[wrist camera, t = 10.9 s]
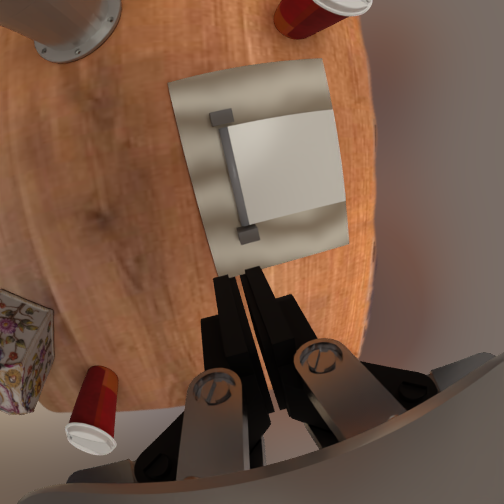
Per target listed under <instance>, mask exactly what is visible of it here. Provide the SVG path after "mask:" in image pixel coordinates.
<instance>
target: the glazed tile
mask: <svg viewBox="0 0 504 504" xmlns="http://www.w3.org/2000/svg"><path fill="white" fill-rule="evenodd" d="M218 130H219V134H220V138H221V143H222V147H223V151H224V156H225V160H226V164H227V168H228V173H229V177H230V181H231V185H232V190H233V194H234V198H235V203H236V207H237V211H238V215H239V220H240V224H241V226H248V225H251V224H255V223H259V222H262V221H266V220H270V219H274V218H278V217H282V216H286V215H290V214H294V213H298V212H302V211H306V210H310V209H314V208H318V207H322V206H326V205H330V204H335V203H339V202H343V201H346V198H345V188H344V180H343V171H342V164H341V156H340V149H339V143H338V136H337V130H336V124H335V118H334V112H333V109H331V110H322V111H314V112H306V113H299V114H292V115H286V116H280V117H274V118H268V119H263V120H257V121H252V122H247V123H242V124H238V125H233V126H228V127H224V128H220V129H218Z"/></svg>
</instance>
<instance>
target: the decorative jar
mask: <svg viewBox="0 0 504 504" xmlns="http://www.w3.org/2000/svg"><path fill="white" fill-rule="evenodd" d="M53 361H54V337H53V310H51V309H48V308H46V307H43V306H40V305H38V304H35V303H33V302H31V301H28V300H26V299H23V298H21V297H19V296H16V295H14V294H11V293H9V292H7V291H4V290H2V289H1V290H0V411H2V412H4V413H6V414H9V415H14V414H15V415H16V414H19V415H24V414H27V413H31V412H34V409H35V407H36V404H37V402H38V399H39V397H40V394H41V391H42V388H43V386H44V383H45V381H46V379H47V376H48V374H49V371H50V369H51V366H52V363H53Z"/></svg>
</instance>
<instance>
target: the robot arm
mask: <svg viewBox="0 0 504 504" xmlns="http://www.w3.org/2000/svg"><path fill="white" fill-rule="evenodd" d="M121 10H122V2H121V0H0V25H1V26H3V27H6V28H8V29H10V30H13V31H15V32H17V33H19V34H22V35H24V36H26V37H28V38H30V39H32V40H34V44H35V48H36V50H37V52H38V53H39V54H40V56H41V57H43V58H44V59H46V60H48V61H51V62H55V63H68V62H72V61H76V60H78V59H80V58H83V57H85V56H86V55H88V54H90V53H91V52H93V51H94V50H95V49H97V48H98V47H99V46H100V45H101V44H102V43H103V42H104V41H105V40H106V39H107V38H108V37H109V36H110V34H111V33H112V32H113V30H114V29H115V27H116V25H117V23H118V21H119V18H120V15H121ZM111 21H113V22H111ZM79 52H80V54H79ZM240 278H241V282H242V286H243V290H244V293H245V297H246V301H247V305H248V308H249V312H250V316H251V320H252V323H253V327H254V331H255V334H256V338H257V341H258V344H259V347H260V350H261V354H262V357H263V360H264V363H265V366H266V369H267V372H268V375H269V378H270V381H271V384H272V387H273V390H274V393H275V397H276V400H277V403H278V405H279V408H280V410H282V409H287V412H288V415H289V417H291V418H292V419H295V420H298V421H301V422H304V425H305V427H306V429H307V431H308V432H309V434H310V435H311V437H312V439H313V440H314V442H315V443H316V445H317V446H318V448H319V450H317V451H314V452H311V453H308V454H305V455H302V456H299V457H296V458H292V459H289V460H285V461H282V462H278V463H274V464H270V465H266V455H265V442H264V437H263V434H264V433H265V432H266V430H267V429H268V428H269V426H270V425H271V423H270V422H271V421H270V418H269V413H272V412H275V411H274V408H273V404H272V401H271V397H270V394H269V391H268V387H267V384H266V380H265V377H264V374H263V370H262V367H261V363H260V360H259V356H258V353H257V349H256V346H255V343H254V339H253V336H252V333H251V329H250V326H249V323H248V319H247V316H246V313H245V309H244V306H243V302H242V299H241V296H240V292H239V289H238V285H237V282H236V278H235V277H231V278H229V276H228V274H227V275H223V276H220V277H216V278H213V282H214V288H215V295H216V302H217V308H218V315H215V316H211V317H207V318H203V319H201V333H202V346H203V357H204V369H205V371H204V372H202V373H200V374H199V375H198V376H196V377H195V378H194V379H193V380H192V382H191V383H190V384H189V387H188V390H187V396H186V403H185V410H184V412H183V413H182V414H181V415H180V416H179V417H178V418H177V419H176V420H175V421H174V422H173V423H172V424H171V425H170V426H169V427H168V428H167V429H166V430H165V431H164V432H163V433H162V434H161V435H160V436H159V437H158V438H157V439H156V440H155V441H154V442H153V443H152V444H151V445H150V446H149V447H147V449H145V450H144V451H143V452H142V453H141V455H140V456H139V457H138V459H137V460H135V461H131V460H130V459H127V460H123V461H119V462H115V463H111V464H106V465H102V466H97V467H93V468H88V469H83V470H79V471H76V472H74V473H73V474H72V475H70V476H69V478H68V480H67V482H66V484H57V485H52V486H47V487H44V488H40V489H37V490H34V491H32V492H30V493H28V494H26V495H24V496H23V497H22V498H21V499H20V500H19V501H18V503H17V504H504V352H503V353H501V354H500V355H498V356H495V355H493V354H491V353H486V352H483V353H478V354H475V355H473V356H470V357H468V358H465V359H462V360H460V361H457V362H454V363H451V364H448V365H445V366H443V367H439V368H436V369H433V370H431V372H430V374H428V375H425V374H422V373H419V372H413V371H408V370H402V369H397V368H391V367H386V366H381V365H376V364H371V363H366V362H362V361H359V360H358V359H357V358H356V357H355V356H354V355H353V354H352V353H351V352H350V351H349V349H348V348H347V347H346V346H345V345H343V344H342V343H341V342H339V341H337V340H334V339H328V338H320V339H318V338H317V337H316V335H315V333H314V332H313V330H312V328H311V326H310V325H309V323H308V321H307V319H306V318H305V316H304V314H303V312H302V311H301V309H300V307H299V306H298V304H297V302H296V300H295V299H294V297H293V296H292V294H289V295H286V296H283V297H279V298H276V299H275V297H274V294H273V292H272V290H271V288H270V286H269V284H268V282H267V280H266V278H265V276H264V274H263V272H262V269H261V267H260V266H256V267H252V268H249V269H245V274H242V275H240Z"/></svg>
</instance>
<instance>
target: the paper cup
mask: <svg viewBox="0 0 504 504" xmlns="http://www.w3.org/2000/svg"><path fill="white" fill-rule="evenodd" d="M371 5H372V0H282V1H281V3H280V4H279V6H278V8H277V10H276V12H275V14H274V24H275V26H276V28H277V29H278V30H279V32H281V33H282V34H283V35H285V36H286V37H289V38H292V39H304V38H307V37H309V36H311V35H313V34H315V33H317V32H319V31H321V30H323V29H325V28H327V27H329V26H331V25H333V24H335V23H337V22H339V21H341V20H343V19H345V18H347V17H349V16H358V15H361V14H363V13H365V12H366V11H367V10H368V9H369V8H370V7H371Z"/></svg>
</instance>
